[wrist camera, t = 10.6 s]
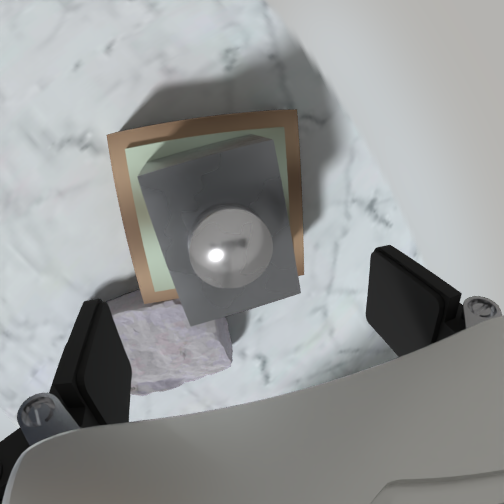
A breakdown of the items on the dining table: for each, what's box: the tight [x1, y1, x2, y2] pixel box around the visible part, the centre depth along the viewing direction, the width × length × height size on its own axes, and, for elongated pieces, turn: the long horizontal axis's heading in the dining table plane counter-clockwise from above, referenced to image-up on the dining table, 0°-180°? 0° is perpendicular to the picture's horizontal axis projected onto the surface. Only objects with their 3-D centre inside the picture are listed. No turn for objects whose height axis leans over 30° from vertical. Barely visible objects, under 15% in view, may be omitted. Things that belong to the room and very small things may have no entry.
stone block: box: [107, 289, 233, 396], centre depth 25 cm, size 12×5×10 cm
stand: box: [107, 110, 304, 304], centre depth 21 cm, size 11×11×4 cm
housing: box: [137, 134, 301, 326], centre depth 16 cm, size 6×8×6 cm
